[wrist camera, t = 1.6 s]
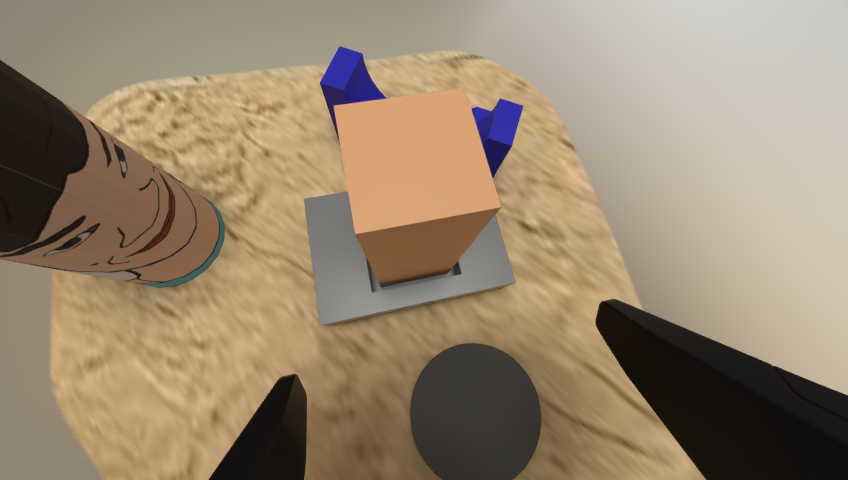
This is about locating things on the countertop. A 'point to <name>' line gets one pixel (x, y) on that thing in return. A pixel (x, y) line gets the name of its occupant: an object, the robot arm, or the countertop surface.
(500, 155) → the cable clip
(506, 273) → the socket block
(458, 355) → the coaster
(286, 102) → the countertop surface
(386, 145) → the tan rectangular block
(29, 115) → the cup
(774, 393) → the robot arm
